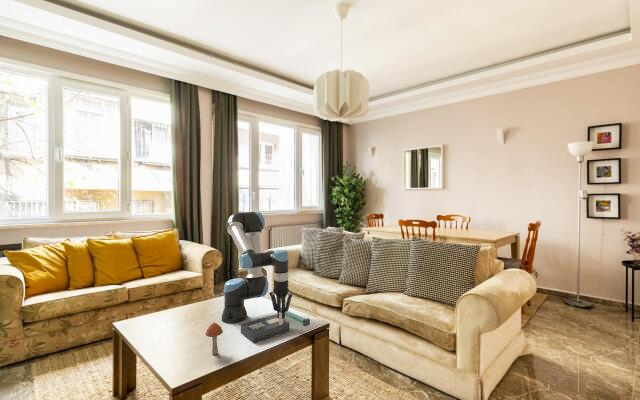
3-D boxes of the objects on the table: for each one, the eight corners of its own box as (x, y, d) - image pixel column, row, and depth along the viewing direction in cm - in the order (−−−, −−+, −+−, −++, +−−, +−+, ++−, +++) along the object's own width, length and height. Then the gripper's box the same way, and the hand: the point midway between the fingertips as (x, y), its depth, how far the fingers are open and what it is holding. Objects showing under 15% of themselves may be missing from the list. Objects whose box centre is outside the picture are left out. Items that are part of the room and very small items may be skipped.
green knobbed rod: (277, 313, 186) (277, 309, 185) (283, 312, 188) (283, 307, 188) (304, 326, 168) (304, 321, 168) (310, 324, 171) (310, 319, 171)
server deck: (240, 333, 178) (240, 319, 178) (277, 322, 192) (277, 309, 192) (253, 343, 166) (253, 328, 166) (291, 331, 180) (291, 317, 180)
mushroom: (208, 349, 159) (207, 319, 159) (224, 349, 160) (224, 318, 160) (203, 358, 151) (203, 326, 151) (221, 357, 152) (220, 325, 152)
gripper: (266, 280, 170) (266, 325, 171) (290, 282, 167) (290, 328, 167) (272, 277, 177) (272, 319, 178) (295, 278, 174) (295, 322, 174)
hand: (281, 323), depth 173 cm, fingers closed
